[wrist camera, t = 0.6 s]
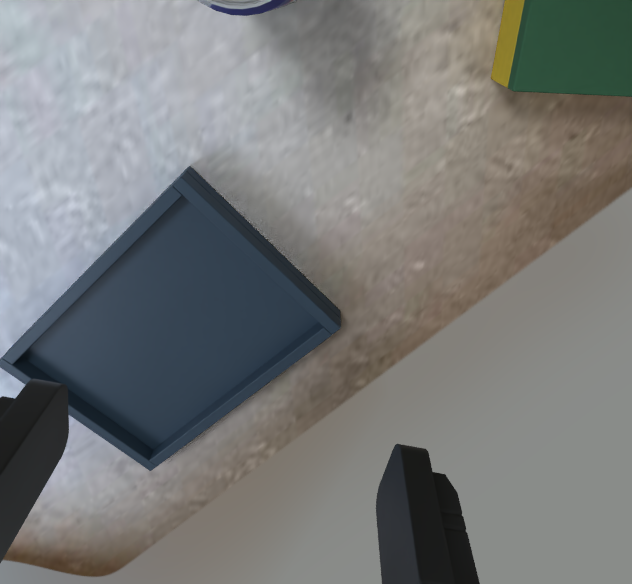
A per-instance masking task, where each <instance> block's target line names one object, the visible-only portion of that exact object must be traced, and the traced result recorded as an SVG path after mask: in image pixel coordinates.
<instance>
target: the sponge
mask: <svg viewBox="0 0 632 584" xmlns="http://www.w3.org/2000/svg"><path fill="white" fill-rule="evenodd" d="M491 79H492V80H494V81H496V82H498V83H500V84H501V85H503V86H505V87H507V88H509V89H510V90H512V91H517V92H540V93H562V94H584V95H606V96H628V97H632V0H505V4H504V9H503V15H502V20H501V26H500V31H499V37H498V42H497V48H496V53H495V59H494V64H493V70H492V75H491Z"/></svg>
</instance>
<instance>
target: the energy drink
mask: <svg viewBox="0 0 632 584" xmlns="http://www.w3.org/2000/svg"><path fill="white" fill-rule="evenodd" d="M198 1H199V2H201V3H202V4H204V5H206V6H208V7H210V8H212V9H214V10H216V11H219V12H223V13H226V14H230V15H243V16H248V15H254V14H260V13H264V12H267V11H270V10H273V9H276V8H279V7H282V6H285V5H288V4H290V3H293V2H295V1H296V0H198Z"/></svg>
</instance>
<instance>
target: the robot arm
mask: <svg viewBox="0 0 632 584" xmlns="http://www.w3.org/2000/svg"><path fill="white" fill-rule="evenodd" d="M68 433H69V418H68V388H67V385H66V384H61V383H56V382H50V381H44V380H39V379H31V380H30V381H29V382H28V383H27V384H26V386H25V387H24V388H23V389H22V391H21V392H20V393H19V395H18V396H17V397H16V399H14V398H9V397H1V398H0V563H1V561H2V559H3V558H4V556H5V554H6V552H7V551H8V549H9V547H10V546H11V544H12V542H13V540H14V539H15V537H16V535H17V533H18V532H19V530H20V528H21V526H22V525H23V523H24V521H25V519H26V518H27V516H28V514H29V513H30V511H31V509H32V507H33V506H34V504H35V502H36V500H37V499H38V497H39V495H40V493H41V492H42V490H43V488H44V486H45V485H46V483H47V481H48V479H49V478H50V476H51V474H52V473H53V471H54V469H55V467H56V466H57V464H58V462H59V460H60V459H61V457H62V455H63V452H64V450H65V447H66V443H67V439H68ZM376 515H377V527H378V539H379V551H380V563H381V576H382V584H480V583H479V579H478V576H477V571H476V567H475V563H474V560H473V555H472V551H471V547H470V543H469V539H468V535H467V533H466V526H465V522H464V519H463V516H462V510H461V506H460V503H459V498H458V494H457V492H456V490H455V489H454V487H453V486H452V484H451V483H450V481H449V480H448V478H447V477H446V475H445V474H440V473H434V472H432V468H431V463H430V458H429V453H428V451H427V450H426V449H423V448H417V447H412V446H406V445H400V444H396V445H395V447H394V449H393V451H392V454H391V457H390V459H389V461H388V464H387V467H386V469H385V472H384V474H383V477H382V480H381V482H380V485H379V489H378V493H377V501H376Z"/></svg>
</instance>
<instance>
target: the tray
mask: <svg viewBox="0 0 632 584" xmlns="http://www.w3.org/2000/svg"><path fill="white" fill-rule="evenodd" d="M340 328H341V319H340V310H339V309H338V308H337V307H336V306H334V305H333V304H332V303H331V302H330V301H329V300H328V299H327V298H326V297H325V296H324V295H323V294H322V293H321V292H320V291H319V290H318V289H317V288H316V287H315V286H314V285H313V284H312V283H311V282H310V281H309V280H307V279H306V278H305V277H304V276H303V275H302V274H301V273H300V272H299V271H298V270H297V269H296V268H295V267H294V266H293V265H292V264H291V263H290V262H289V261H288V260H287V259H286V258H285V257H284V256H283V255H282V254H280V253H279V252H278V251H277V250H276V249H275V248H274V247H273V246H272V245H271V244H270V243H269V242H268V241H267V240H266V239H265V238H264V237H263V236H262V235H261V234H260V233H259V232H258V231H257V230H256V229H255V228H254V227H252V226H251V225H250V224H249V223H248V222H247V221H246V220H245V219H244V218H243V217H242V216H241V215H240V214H239V213H238V212H237V211H236V210H235V209H234V208H233V207H232V206H231V205H230V204H229V203H228V202H227V201H225V200H224V199H223V198H222V197H221V196H220V195H219V194H218V193H217V192H216V191H215V190H214V189H213V188H212V187H211V186H210V185H209V184H208V183H207V182H206V181H205V180H204V179H203V178H202V177H201V176H200V175H198V174H197V173H196V172H195V171H194V170H193V169H192V168H191V167H190V166H189V167H188V168H187V169H186V170H185V171H184V172H183V173H182V174H181V175H180V176H179V177H178V178H177V179H176V180H175V181H174V182H173V183H172V184H171V185H170V186H169V187H168V188H167V189H166V190H165V191H164V192H163V193H162V194H161V195H160V196H159V197H158V198H157V199H156V200H155V201H154V202H153V203H152V204H151V205H150V206H149V207H148V208H147V209H146V210H145V212H144V213H143V214H142V215H141V216H140V217H139V218H138V219H137V220H136V221H135V222H134V223H133V224H132V225H131V226H130V227H129V228H128V229H127V230H126V231H125V232H124V233H123V234H122V235H121V236H120V237H119V238H118V239H117V240H116V241H115V242H114V243H113V244H112V245H111V246H110V247H109V248H108V249H107V250H106V251H105V252H104V253H103V254H102V255H101V256H100V257H99V258H98V259H97V260H96V261H95V262H94V263H93V264H92V265H91V266H90V267H89V268H88V269H87V270H86V272H85V273H84V274H83V275H82V276H81V277H80V278H79V279H78V280H77V281H76V282H75V283H74V284H73V285H72V286H71V287H70V288H69V289H68V290H67V291H66V292H65V293H64V294H63V295H62V296H61V297H60V298H59V299H58V300H57V301H56V302H55V303H54V304H53V305H52V306H51V307H50V308H49V309H48V310H47V311H46V312H45V313H44V314H43V315H42V316H41V317H40V318H39V319H38V320H37V321H36V322H35V323H34V324H33V325H32V326H31V327H30V328H29V329H28V330H27V331H26V333H25V334H24V335H23V336H22V337H21V338H20V339H19V340H18V341H17V342H16V343H15V344H14V345H13V346H12V347H11V348H10V349H9V350H8V351H7V352H6V354H5V355H4V356H3V357H2V358H1V359H0V367H1V368H2V369H4V370H5V371H7V372H8V373H9V374H11V375H12V376H14V377H15V378H17V379H18V380H20V381H21V382H22V383H24V384H25V385H26V384H27V383H28V382H29V381H30V380H31V379H39V380H44V381H50V382H56V383H61V384H66V385H67V388H68V414H69V415H70V416H72V417H73V418H75V419H76V420H77V421H79V422H80V423H82V424H83V425H85V426H86V427H88V428H89V429H90V430H92V431H93V432H95V433H96V434H98V435H99V436H101V437H102V438H103V439H105V440H106V441H108V442H109V443H111V444H112V445H114V446H115V447H116V448H118V449H119V450H121V451H122V452H124V453H125V454H127V455H128V456H129V457H131V458H132V459H134V460H135V461H137V462H138V463H140V464H141V465H143V466H144V467H145V468H147V469H148V470H150V471H151V470H153V469H154V468H155V467H157V466H158V465H159V464H161V463H162V462H163V461H165V460H166V459H167V458H169V457H170V456H171V455H173V454H174V453H175V452H177V451H178V450H179V449H181V448H182V447H183V446H185V445H186V444H187V443H189V442H190V441H191V440H193V439H194V438H195V437H197V436H198V435H199V434H201V433H202V432H203V431H205V430H206V429H207V428H209V427H210V426H211V425H213V424H214V423H215V422H217V421H218V420H219V419H221V418H222V417H223V416H225V415H226V414H227V413H229V412H230V411H231V410H233V409H234V408H235V407H237V406H238V405H239V404H241V403H242V402H243V401H245V400H246V399H247V398H249V397H250V396H251V395H253V394H254V393H255V392H257V391H258V390H259V389H261V388H262V387H263V386H265V385H266V384H267V383H269V382H270V381H271V380H273V379H274V378H275V377H277V376H278V375H279V374H281V373H282V372H283V371H285V370H286V369H287V368H289V367H290V366H291V365H293V364H294V363H295V362H297V361H298V360H299V359H301V358H302V357H303V356H305V355H306V354H307V353H309V352H310V351H311V350H313V349H314V348H315V347H317V346H318V345H319V344H321V343H322V342H323V341H325V340H326V339H327V338H329V337H330V336H331V335H332V334H334V333H335V332H336V331H338V330H339V329H340Z"/></svg>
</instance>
